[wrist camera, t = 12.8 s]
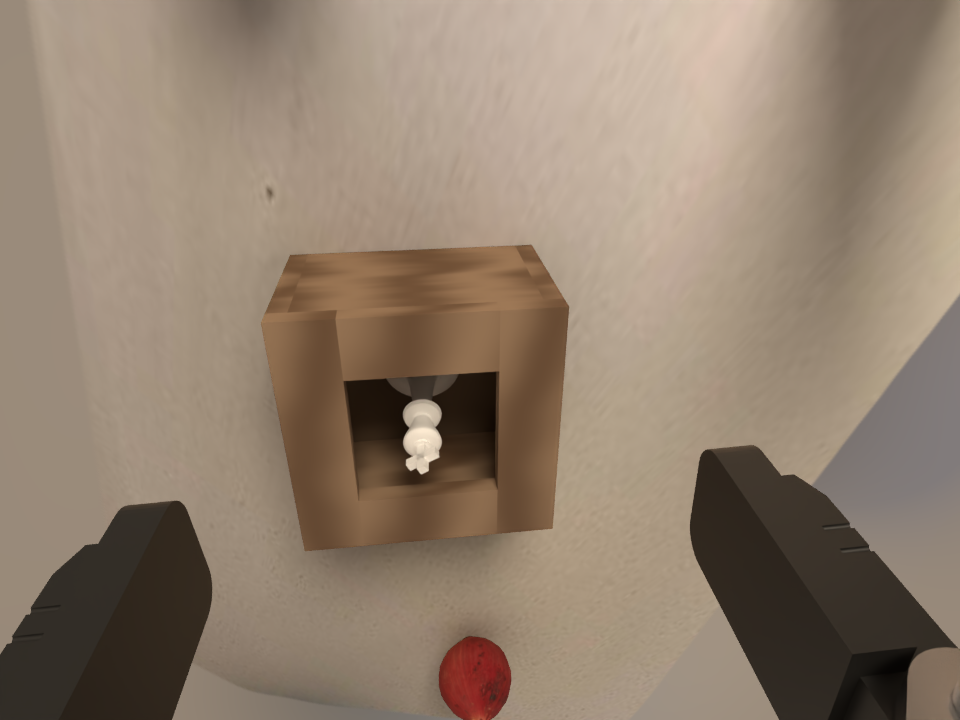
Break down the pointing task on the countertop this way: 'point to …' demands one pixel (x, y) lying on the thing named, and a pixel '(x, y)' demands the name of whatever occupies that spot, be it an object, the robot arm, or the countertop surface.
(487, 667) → the red oval fruit
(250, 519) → the countertop surface
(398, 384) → the chess piece
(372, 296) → the drop box
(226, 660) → the countertop surface
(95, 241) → the countertop surface
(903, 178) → the countertop surface
